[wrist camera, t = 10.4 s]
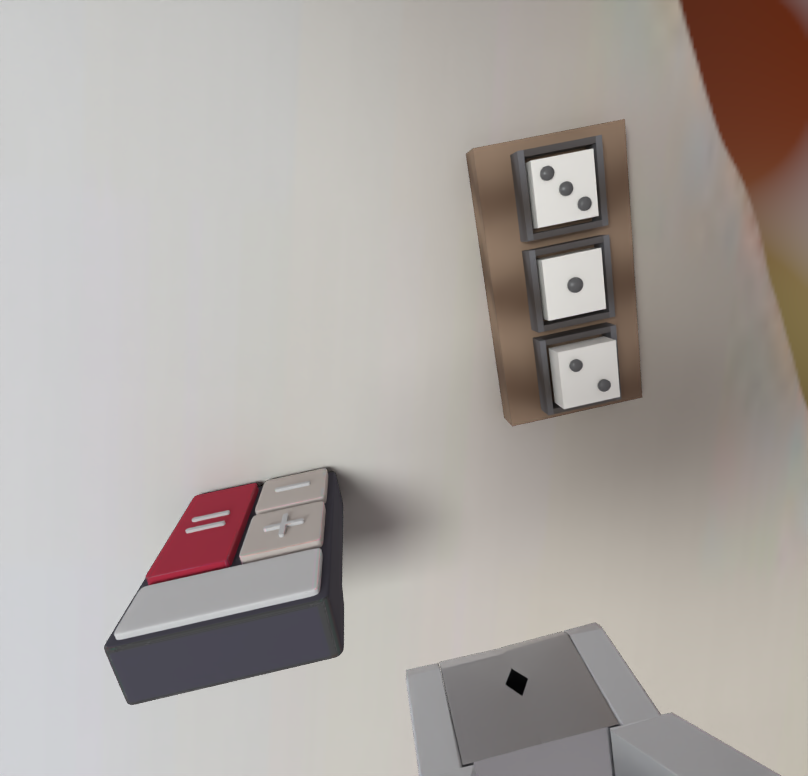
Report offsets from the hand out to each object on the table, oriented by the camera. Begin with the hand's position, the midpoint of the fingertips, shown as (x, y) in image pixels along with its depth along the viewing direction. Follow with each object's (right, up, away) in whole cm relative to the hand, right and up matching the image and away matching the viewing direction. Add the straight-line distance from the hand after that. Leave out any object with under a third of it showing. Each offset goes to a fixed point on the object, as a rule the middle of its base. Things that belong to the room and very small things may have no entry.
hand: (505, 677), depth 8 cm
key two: (+11, +6, +28) cm, 30 cm away
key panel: (+9, +12, +29) cm, 33 cm away
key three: (+8, +17, +26) cm, 32 cm away
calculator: (-12, -4, +31) cm, 34 cm away
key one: (+9, +12, +27) cm, 31 cm away
